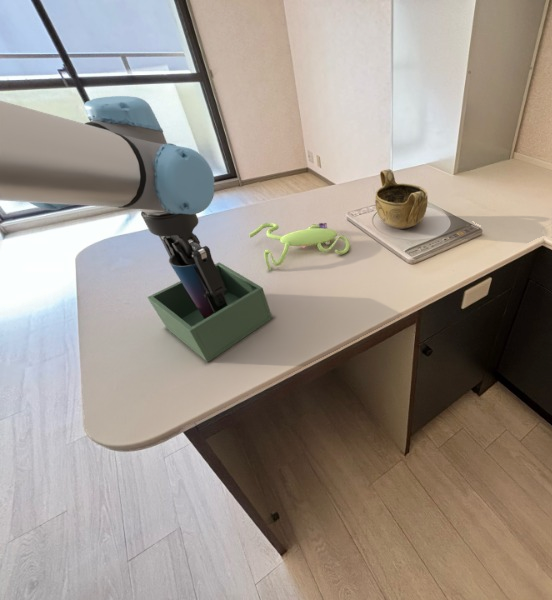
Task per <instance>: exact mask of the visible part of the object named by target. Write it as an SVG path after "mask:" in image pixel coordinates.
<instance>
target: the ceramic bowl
mask: <svg viewBox="0 0 552 600" xmlns="http://www.w3.org/2000/svg"><path fill="white" fill-rule="evenodd" d="M379 177H380V182H381V187H379V188H378V189H377V190H376V192H375V197H374V203H375V204H374V205H375V210H376V213H377V216H378V218H379V219H380V220H381V221H382V222H383V224H385V225H386V226H388V227H390V228H393V229H397V230H401V229H408V228H411V227H414V226H416V225H417V224H419V223H420V222H421V221H422V220H423V218H424V217H425V215H426V212H427V208H428V202H429V201H428V200H429V199H428V198H429V197H428V192H427V190H426V189H425V188H423V187H422V186H419V185H416V184H411V183H398V182H396V178H395V175H394V172H393V170H392V169H390V168H389V169H382V170H380V173H379Z"/></svg>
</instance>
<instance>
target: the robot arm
mask: <svg viewBox="0 0 552 600" xmlns="http://www.w3.org/2000/svg"><path fill="white" fill-rule="evenodd" d="M83 107H84V111H85V112H86V115H87V119H88V121H87V122H84V123H83V122H80V121H76V120H72V119H69V118H65V117H62V116H58V115H54V114H51V113H47V112H43V111H39V110H35V109H32V108H28V107H24V106H21V105H17V104H14V103H11V102H6V101H3V100H0V201H3V202H22V203H29V204H31V205H33V206H35V207H37V208H39V209H43V210H47V211H57V210H61V209H63V208H67V207H69V206H71V207H74V206H91V207H105V208H106V207H109V208H118V209H119V208H120V209H130V210H138V211H140V215H141V217H142V220H143V222H144V223H145V226H146V227H147V228H148V231H149V232H150V233H151V234H153V235H154V236H158V237H159V239H160V241H161V243H162V245H163V246H164V248H165V250H166V252H167V255H168V256H169V258H170V257H171V256H172V255H174V256H175V257H177V259H178V261H179V263H180V264H181V266H188V265H193V264H196V265H197V267H198V268H197V267H194V270H195V272H196V274H197V276H198V279H199V281H200V283H201V284H202V286H203V288H204V289H205V291H206V293H205V294H203V296H204V297H206V298H207V300H208V302H209V304H210V306H211V308H212V310H213V312H214V313H216V312H218V311H219V310H221V309H223V308H224V307H226V306H227V304H226V302H225V299H224V297H223V295H222V292H223V291H225V290H226V288H225V286H224V284H223V282H222V279H221V277H220V275H219V273H218V271H217V268H216V266H215V264H216V263H215V261H214V259H213V257H212V254H211V249H210V248H209V246H207V245H205V246H201V242H200V240H199V238H198V236H197V235H196V234H195V233H193V231H194V230H195V228H196V227H197V226H198V225H199V218H198V214H200V213H202V212H204V211H205V210H207V208H208V207H209V206H210V205H211V203H212V202H213V200H214V196H215V191H216V190H215V176H214V173H213V170H212V166H210V164H209V162H208V161H207V159H206V158H205V157H204V156H203V155H201V153H200V152H199V151H196V150H194V149H192V148H190V147H186V146H180V145H176V144H174V143H169V142H168V141H167V140H166V139H167V138H166V137H165V134H164V130H163V128H162V127H161V125H160V123H159V121H158V119H157V117H156V114H155V113H154V110H153V109H152V107H151V105H150V103H149V102H147V101H146V100H145V99H143V98H140V97H137V96H131V95H130V96H129V95H113V96H102V97H96V98H92V99H90V100H87V101H86V102H84V106H83Z"/></svg>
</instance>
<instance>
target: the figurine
mask: <svg viewBox="0 0 552 600" xmlns="http://www.w3.org/2000/svg"><path fill="white" fill-rule="evenodd" d="M279 227H280V226H279V225H278V224H277V223H275V222H267V223H262V224H260V225H259V227H257V228H256V229H254V230H253V231H252V232H249V234H248V235H249V238H253V237H254V236H257V234H258V233H260V232H261V231H262V230H264V229H266V228H268V229H267V230H266V236H267V238H269V239H273V240H278V241H279V242H280V243H281V244H283V245H284V247H283V251H282V253H281V255H280V257H279V259H278V260H275V259H274V256H273V254H272V252H271V250H270V249H265V250H264V253H263V256H264V260H265V263H266V266H267V269H268V270H269V271H271V270H272V268H271V265H270V262H269V255H270V259H271V262H272V264H273V265H274V266H276V267H278V266H281V265H282V264H283V262H284V260H285V259H286V257H287V254H288V252H289V248H290V247H301V248H302V249H304V248H306V247H307V246H312V245H313V246H314V245H316V247H317V248H318V250H319V251H320V252H322V253H326V252H328V251H330V250H331V249H332V248H333V247H334V246H335V245H336V243H337V241H338V240H339V239H341V240H343V242H344V244H345V245H344V246H345V247H344V249H343V250H338V249H336V248H335V249H334V252H335V253H336V254H338V255H344V254H347V252H348V251H349V250H350V241H349V239H348V238H347V237H346V236H344V235H339V236H338V232H337V231H336V230H334V229H330V228H328V224H327V222H319V223H318V224H312V225H310V226H309V227H308V228H305V229H300V230H295V231H291V232H289V233H287V234H284V235H277V234H272V232H274V231H278V229H279ZM336 237H337V238H336ZM335 238H336V239H335ZM334 239H335V240H334ZM332 240H334V241H333V243H331V241H332ZM323 243H324V244H325V245H330V243H331V245H330V246H329V247H328V248H324V246H323V245H322V244H323Z"/></svg>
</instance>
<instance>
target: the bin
mask: <svg viewBox="0 0 552 600" xmlns="http://www.w3.org/2000/svg"><path fill="white" fill-rule="evenodd" d="M214 264H215V266H216V268H217V271H218V273H219V275H220V277H221V279H222V282H223V284H224V286H225V288H226V290H225V291H223V294H224V297H225V300H226V303H227V306H226V307H224V308H223V309H221V310H219V311H218V312H216V313H214V314H213V315H211V316H209V317H207V318H206V319H204V318H203V316H202V314H201V313H200V311H199V309H198V308H197V306H196V305H195V303H194V301H193V300H192V298H191V297H190V295H189V293H188V292H187V290H186V289H185V287H184V285H183V284H182V282H181V281H180V280H179V281H178V282H175V283H173V284H171V285H169V286H167V287H166V288H163V289H161V290H159V291H157V292H155V293H153V294H151V295H149V296H147V299H148V301H149V302H150V304H151V306H152V307H153V309H154V310H155V312H156V314H157V315H158V317H159V319H160V320H161V322H162V323H163V325H164V327H165V328H166V329H167V330H168V331H169V332H170V333H171V334H173V335H174V336H175V337H176V338H178V339H179V340H180V341H181V342H183V344H185V345H186V346H187V347H189V349H191V350H192V351H193V352H195V353H196V354H197V355H198V356H199V357H201V358H202V359H203V360H204V362H205V361H206V362H207V363H209V362H211V361H212V360H213V359H215V358H217V357H218V356H219V355H221V354H222V353H223V352H225V351H227V350H228V349H229V348H231V347H233V346H235V344H237V343H239V342H240V341H242V340H243V339H244V338H246V337H248V336H249V335H250V334H251V333H253V332H254V331H256V330H257V329H259V328H260V327H262V326H264V325H265V324H267V323H268V322H270V321H271V320H273V315H272V313H271V309H270V307H269V304H268V300H267V297H266V294H265V291H264V288H263V287H262V286H260V285H259V284H257V283H255V282H254V281H252V280H250V279H248V278H247V277H245V276H244V275H242V274H240V273H238V272H237V271H235V270H233V269H232V268H230V267H229V266H227V265H224V263H221V262H217V263H214Z"/></svg>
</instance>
